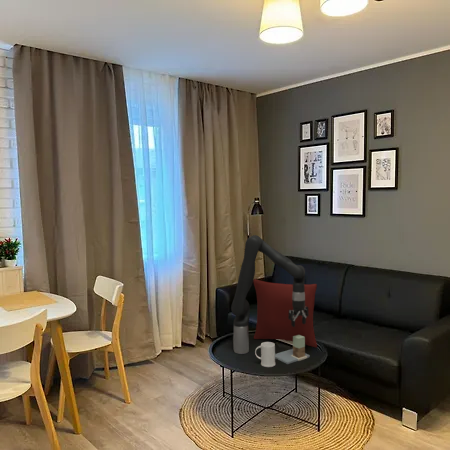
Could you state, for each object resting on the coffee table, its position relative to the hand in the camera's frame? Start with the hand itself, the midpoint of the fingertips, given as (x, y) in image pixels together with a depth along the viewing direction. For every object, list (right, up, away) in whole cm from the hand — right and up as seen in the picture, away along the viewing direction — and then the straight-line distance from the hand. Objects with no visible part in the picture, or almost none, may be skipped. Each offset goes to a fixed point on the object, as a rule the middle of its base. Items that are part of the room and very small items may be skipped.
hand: (298, 325), depth 262 cm
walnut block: (0, -19, +2) cm, 19 cm away
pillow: (-5, -18, +27) cm, 33 cm away
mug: (-21, -22, -6) cm, 30 cm away
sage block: (0, -13, +1) cm, 13 cm away
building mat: (-4, -20, +3) cm, 21 cm away
